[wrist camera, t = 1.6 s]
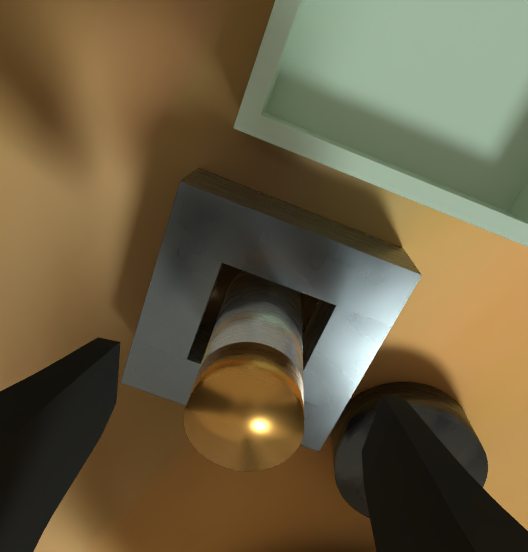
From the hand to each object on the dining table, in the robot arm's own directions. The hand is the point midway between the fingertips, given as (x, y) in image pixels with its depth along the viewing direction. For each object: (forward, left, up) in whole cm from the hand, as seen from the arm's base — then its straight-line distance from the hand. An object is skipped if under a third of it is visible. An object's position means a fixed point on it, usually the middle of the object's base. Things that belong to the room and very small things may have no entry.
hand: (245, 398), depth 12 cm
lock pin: (0, 0, -6) cm, 6 cm away
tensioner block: (-4, +1, -6) cm, 7 cm away
